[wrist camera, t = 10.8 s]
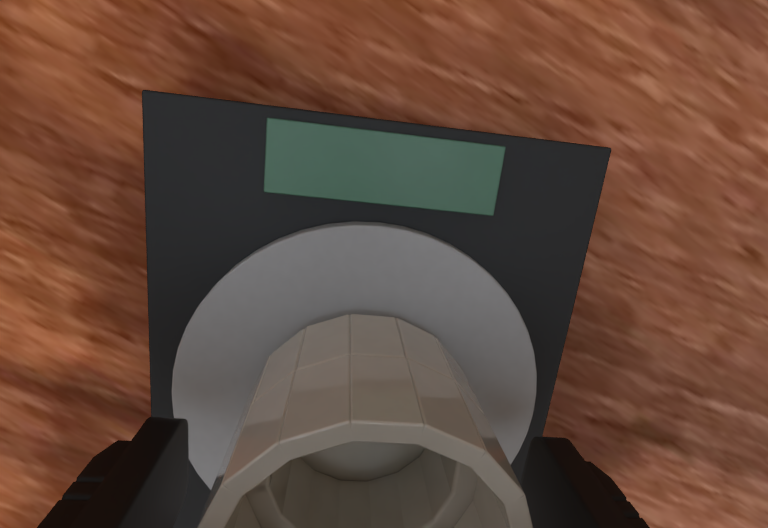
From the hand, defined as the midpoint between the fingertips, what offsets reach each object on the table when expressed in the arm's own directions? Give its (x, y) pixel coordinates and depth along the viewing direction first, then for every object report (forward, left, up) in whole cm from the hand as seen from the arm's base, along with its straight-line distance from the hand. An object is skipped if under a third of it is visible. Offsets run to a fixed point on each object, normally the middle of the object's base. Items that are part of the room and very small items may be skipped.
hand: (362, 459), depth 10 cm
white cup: (0, 0, -2) cm, 2 cm away
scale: (-1, 0, -6) cm, 6 cm away
